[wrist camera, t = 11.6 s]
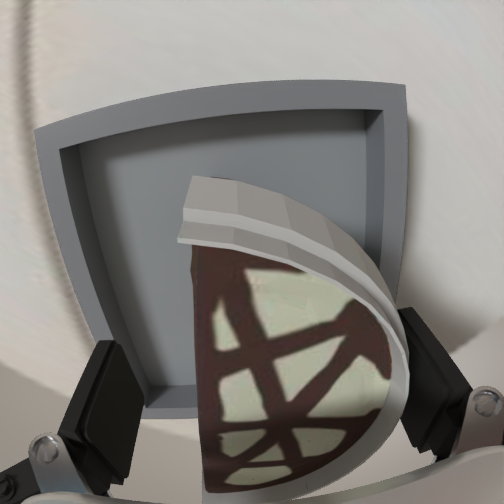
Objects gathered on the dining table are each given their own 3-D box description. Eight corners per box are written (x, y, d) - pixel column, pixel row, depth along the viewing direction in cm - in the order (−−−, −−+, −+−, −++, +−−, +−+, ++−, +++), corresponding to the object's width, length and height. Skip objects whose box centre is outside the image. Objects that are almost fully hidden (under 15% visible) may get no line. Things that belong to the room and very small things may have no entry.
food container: (305, 359, 19) (347, 502, 10) (207, 359, 18) (202, 513, 9) (344, 156, 14) (502, 230, 5) (211, 144, 13) (177, 201, 4)
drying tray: (375, 88, 14) (405, 84, 11) (361, 362, 21) (375, 391, 18) (64, 125, 13) (33, 129, 10) (142, 387, 20) (135, 418, 18)
